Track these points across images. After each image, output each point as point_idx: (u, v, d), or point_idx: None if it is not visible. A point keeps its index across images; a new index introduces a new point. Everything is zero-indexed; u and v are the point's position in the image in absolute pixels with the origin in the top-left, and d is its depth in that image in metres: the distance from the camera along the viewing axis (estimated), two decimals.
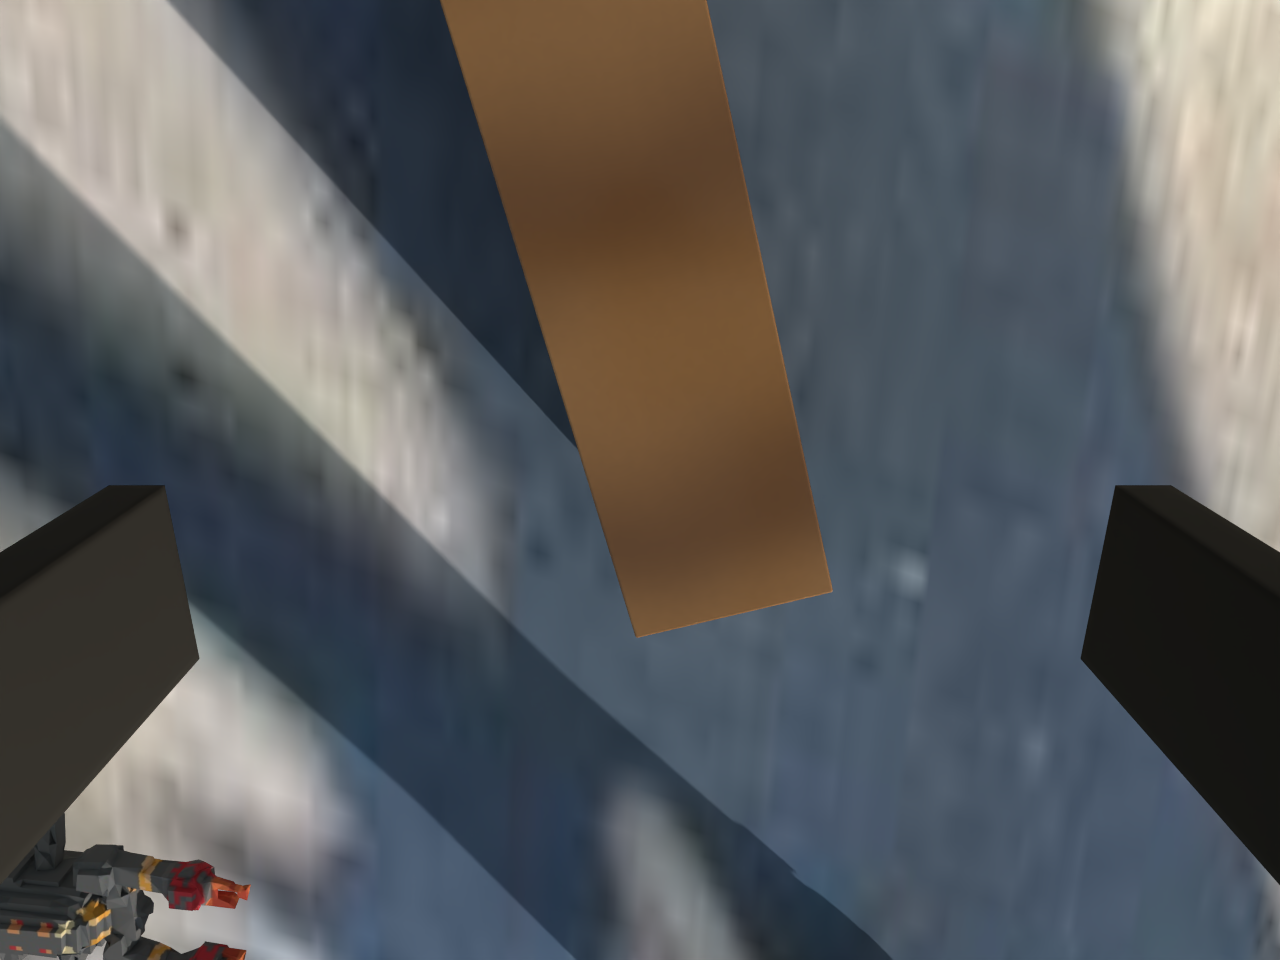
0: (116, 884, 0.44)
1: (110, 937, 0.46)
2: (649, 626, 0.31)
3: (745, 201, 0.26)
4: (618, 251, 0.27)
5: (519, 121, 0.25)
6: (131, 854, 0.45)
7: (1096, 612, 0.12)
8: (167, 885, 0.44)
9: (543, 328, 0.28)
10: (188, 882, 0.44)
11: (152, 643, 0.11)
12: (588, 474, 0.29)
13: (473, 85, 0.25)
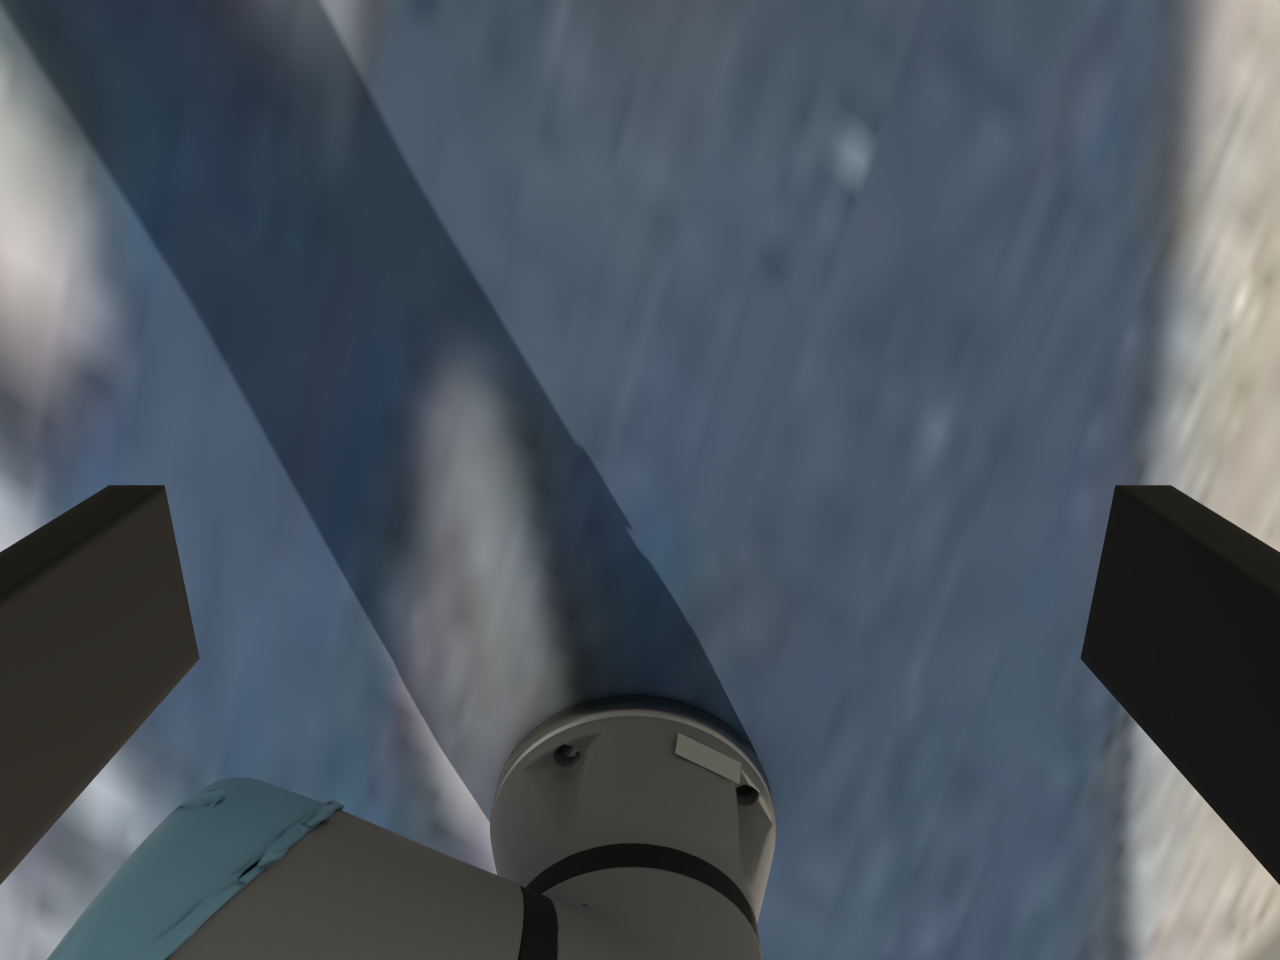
0: None
1: None
2: None
3: None
4: None
5: None
6: None
7: (1096, 612, 0.12)
8: None
9: None
10: None
11: (152, 643, 0.11)
12: None
13: None
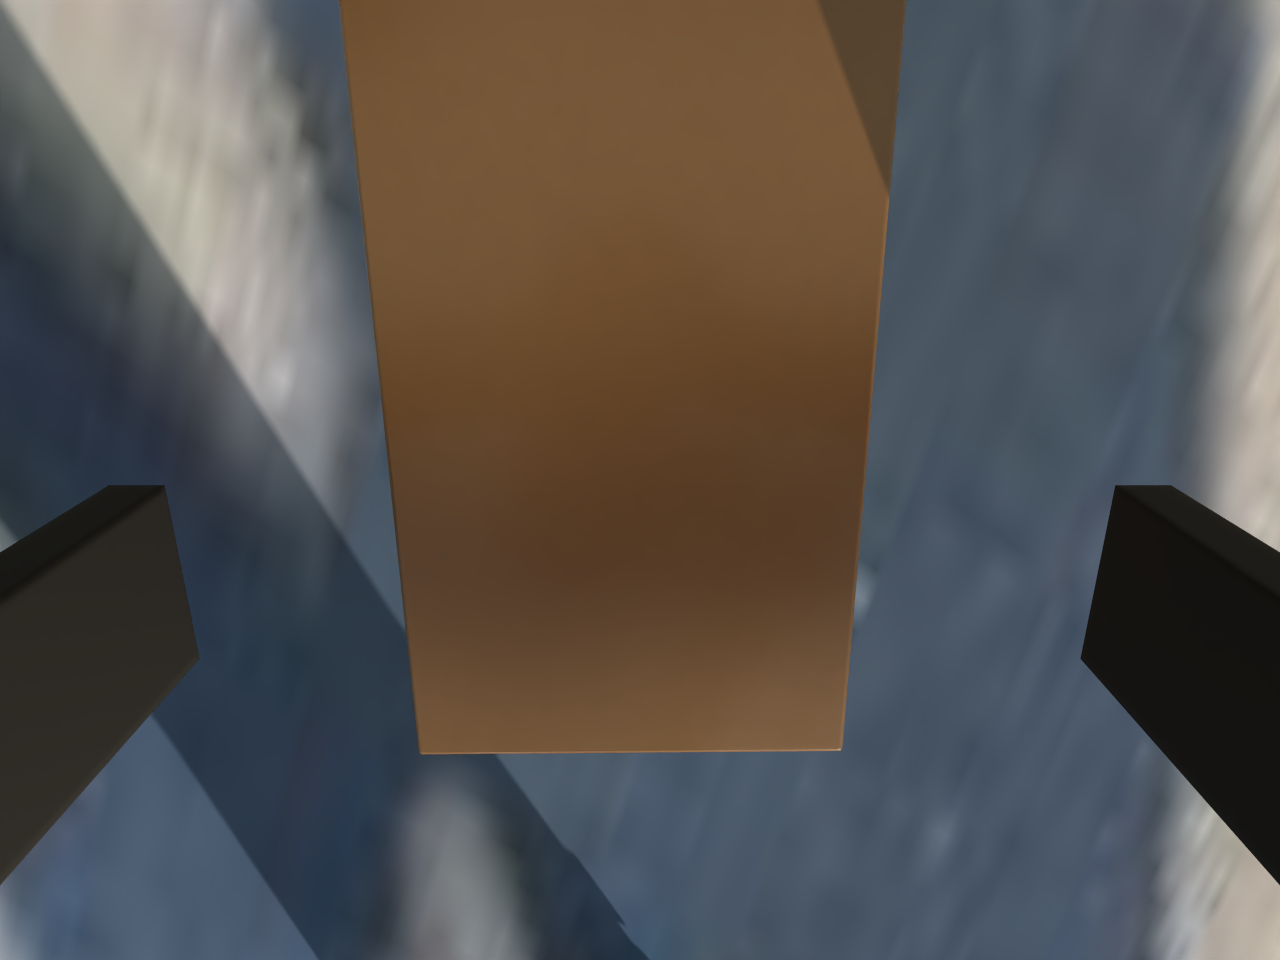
0: None
1: None
2: (451, 738, 0.15)
3: None
4: None
5: None
6: None
7: (1096, 612, 0.12)
8: None
9: None
10: None
11: (152, 643, 0.11)
12: (384, 381, 0.13)
13: None
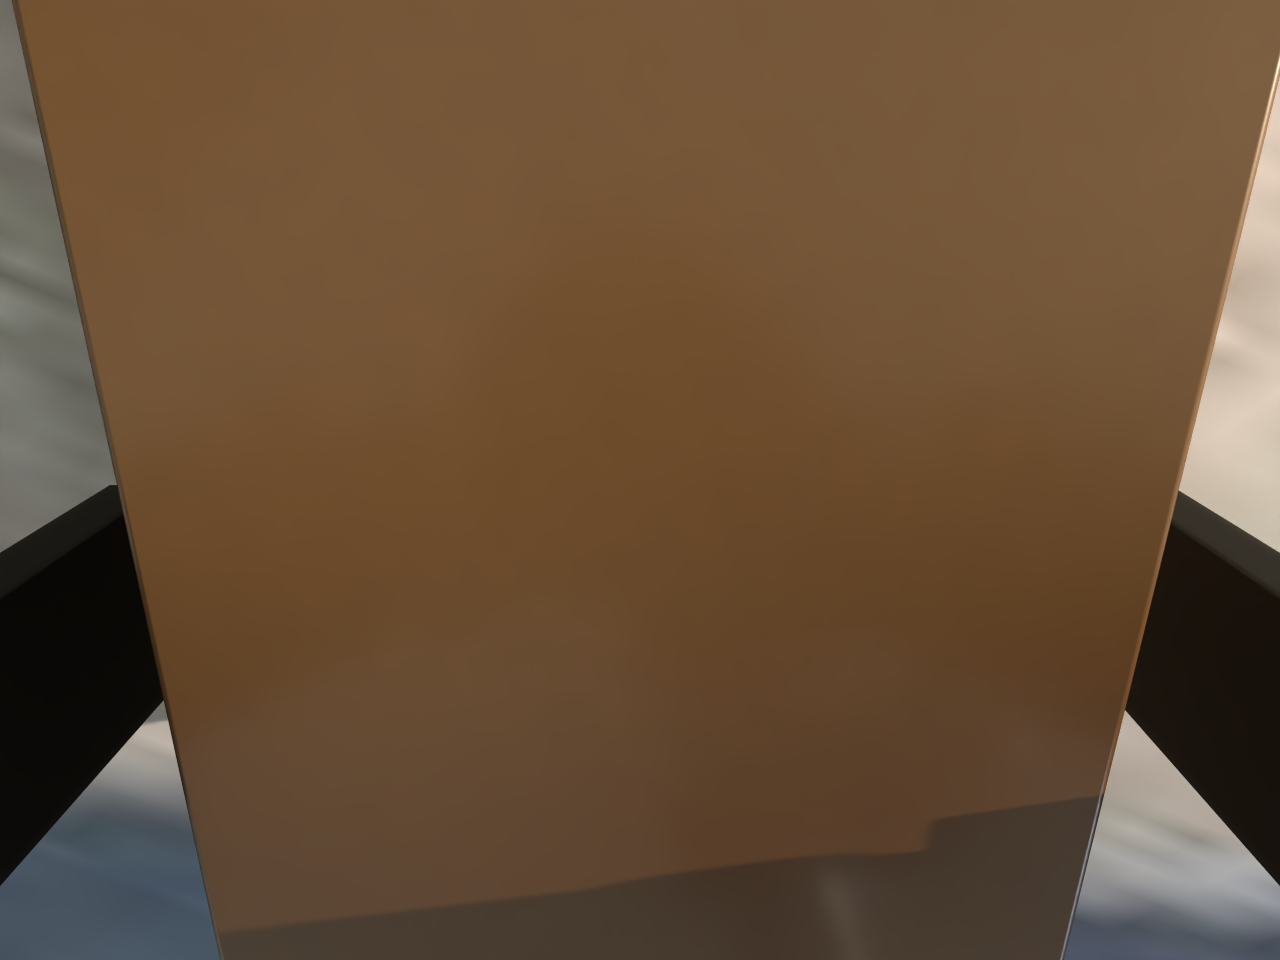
0: None
1: None
2: None
3: None
4: None
5: None
6: None
7: None
8: None
9: None
10: None
11: None
12: (160, 637, 0.06)
13: None
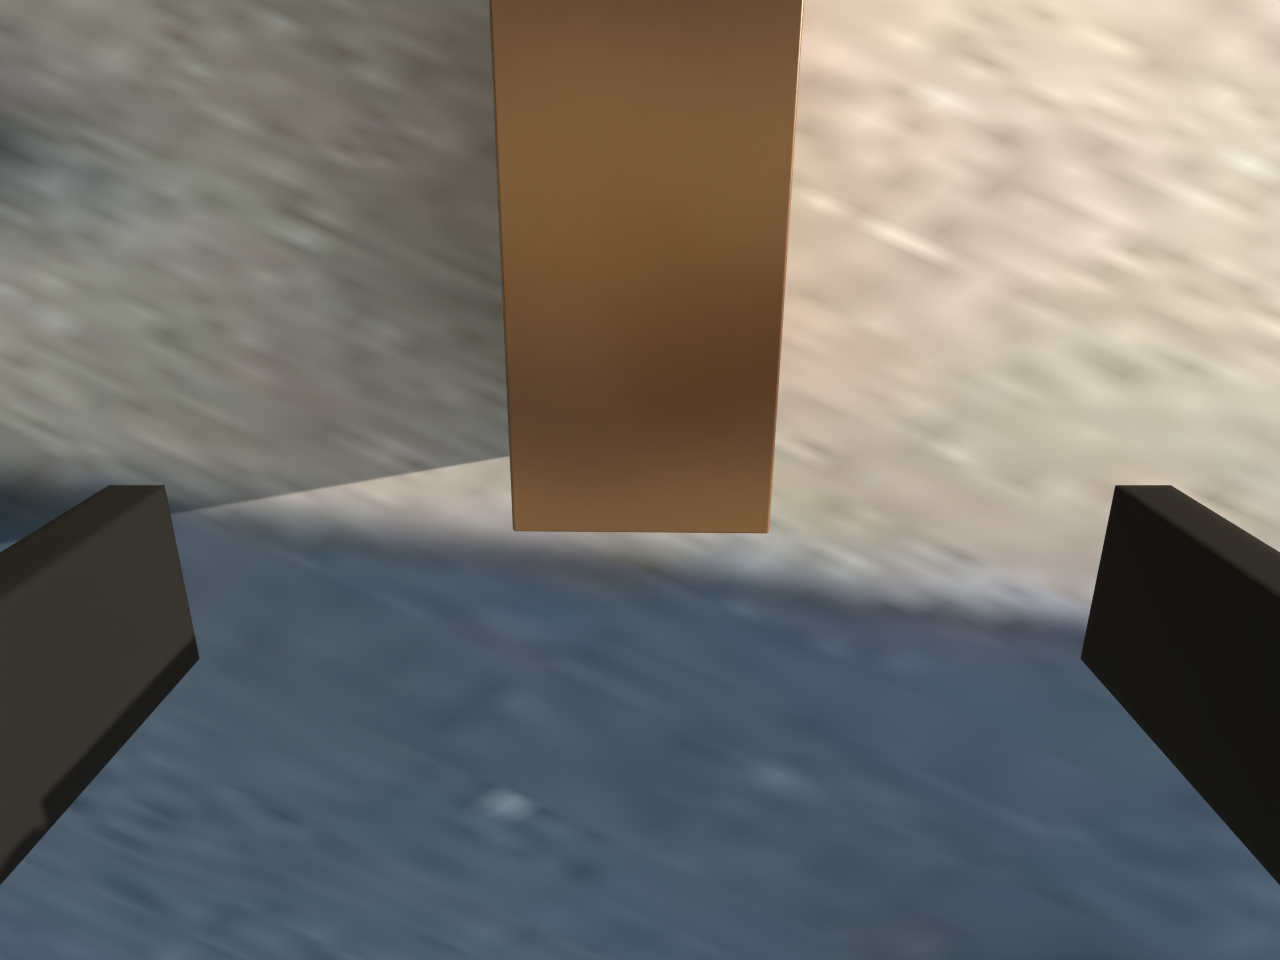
0: None
1: None
2: (533, 520, 0.24)
3: None
4: (620, 2, 0.20)
5: None
6: None
7: (1095, 612, 0.12)
8: None
9: (496, 81, 0.21)
10: None
11: (152, 643, 0.11)
12: (506, 299, 0.22)
13: None
